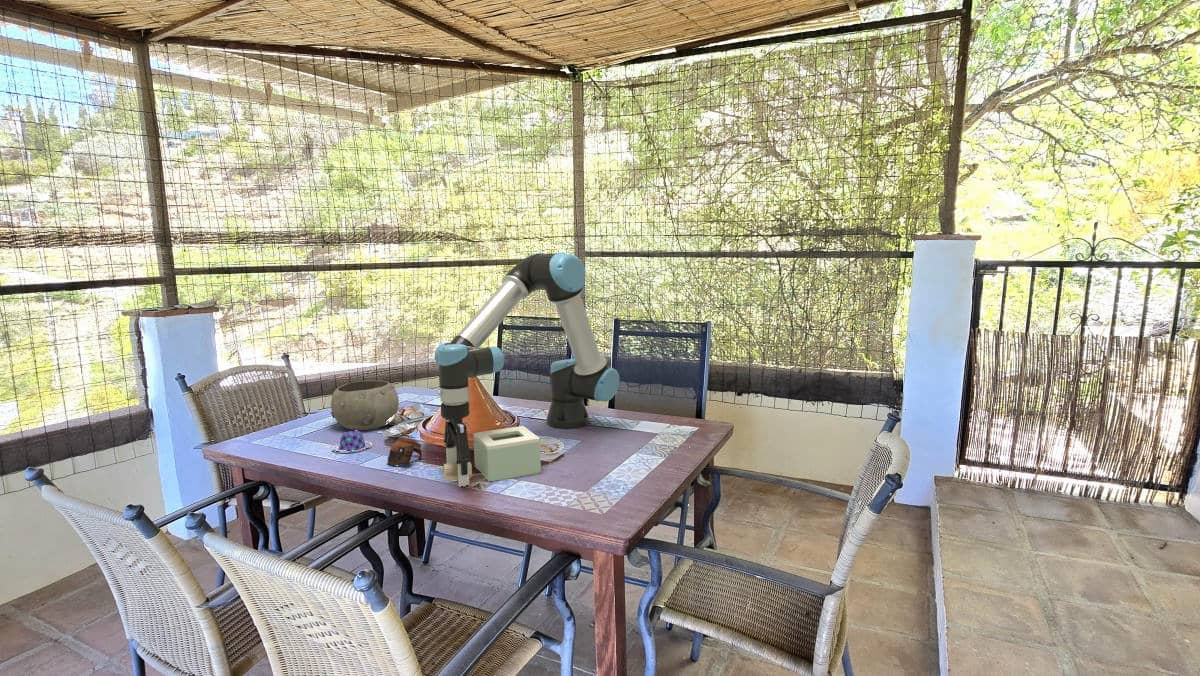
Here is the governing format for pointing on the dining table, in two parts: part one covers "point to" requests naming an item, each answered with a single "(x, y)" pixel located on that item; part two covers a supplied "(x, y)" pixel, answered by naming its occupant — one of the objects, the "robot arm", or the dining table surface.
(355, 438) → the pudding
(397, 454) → the pottery mug
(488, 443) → the slot box
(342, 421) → the bowl
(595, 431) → the dining table surface
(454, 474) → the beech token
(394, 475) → the dining table surface
